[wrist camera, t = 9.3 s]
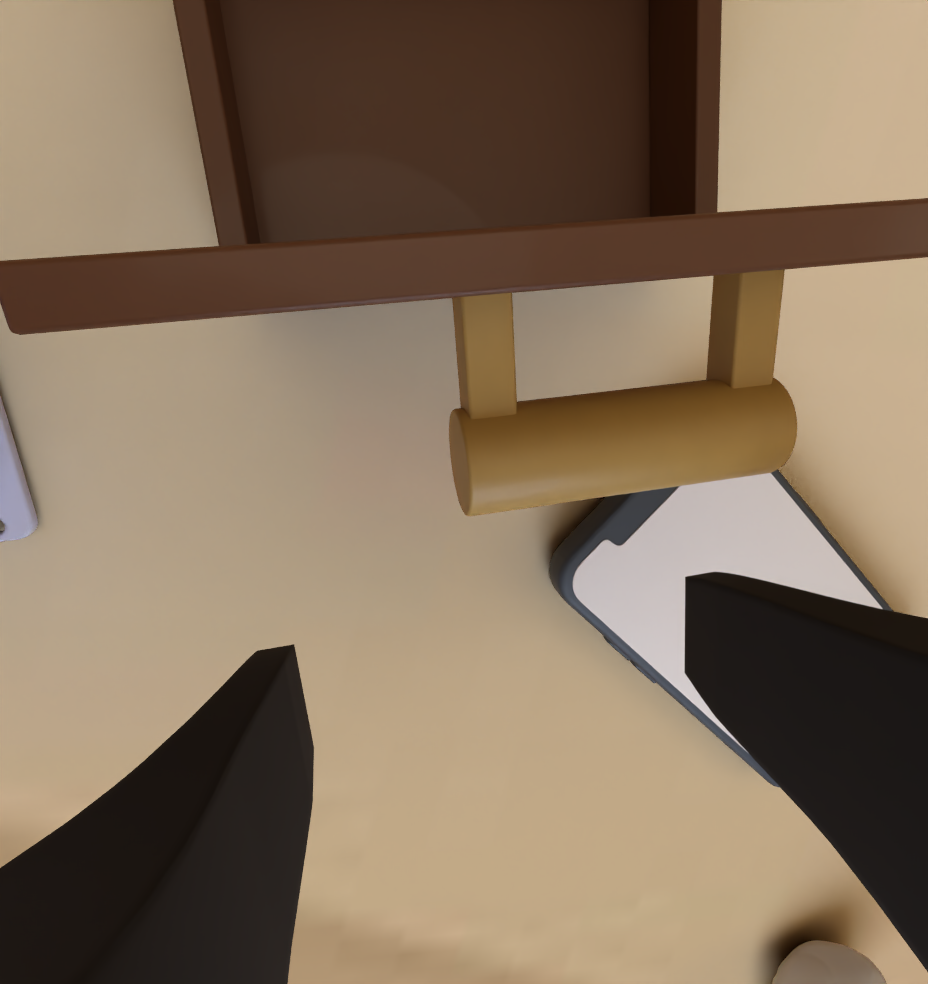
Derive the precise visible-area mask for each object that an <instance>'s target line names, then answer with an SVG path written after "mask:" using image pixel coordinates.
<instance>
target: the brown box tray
mask: <svg viewBox="0 0 928 984" xmlns="http://www.w3.org/2000/svg"><path fill="white" fill-rule="evenodd" d="M173 5H174V10H175V15H176V20H177V26H178V31H179V36H180V42H181V47H182V52H183V58H184V63H185V68H186V73H187V79H188V84H189V89H190V95H191V100H192V105H193V110H194V116H195V121H196V126H197V132H198V137H199V142H200V148H201V153H202V158H203V163H204V169H205V174H206V179H207V185H208V190H209V195H210V201H211V206H212V211H213V216H214V222H215V227H216V232H217V238H218V243H219V246H229V245H244V244H259V243H273V242H288V241H303V240H318V239H333V238H347V237H362V236H377V235H392V234H406V233H421V232H436V231H451V230H466V229H480V228H495V227H510V226H525V225H540V224H554V223H569V222H584V221H599V220H613V219H628V218H643V217H658V216H673V215H687V214H702V213H717V195H718V149H719V103H720V56H721V10H722V0H173Z"/></svg>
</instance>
